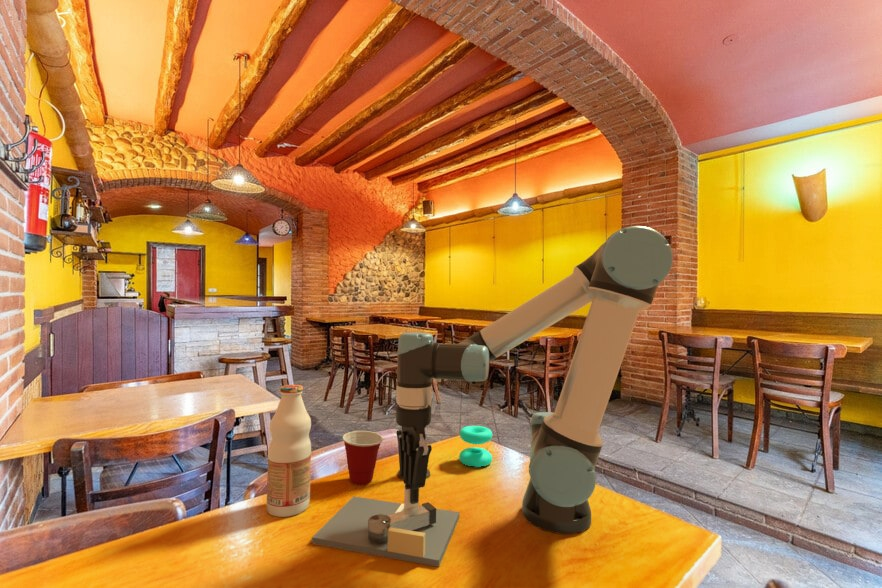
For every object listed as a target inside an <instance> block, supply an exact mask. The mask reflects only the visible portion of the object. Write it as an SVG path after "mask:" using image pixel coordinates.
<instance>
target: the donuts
mask: <svg viewBox="0 0 882 588" xmlns="http://www.w3.org/2000/svg"><path fill="white" fill-rule="evenodd" d="M459 438H460V439H461V440H462V441H463V442H465V443H467V444H472V445H484V444H486V443H488V442H490V441H491V440H492V439H493V432H492V430H491V429H490V428H489V427H486V426H482V425H467V426H464V427H462V428H461V429H460V430H459ZM458 459H459V461H460V462H461V464H463V465H464V464H465V465H464V466H466V465H468V466H467V467H470V466H475V467H474V468H482V467H481V466H485V467H487V466H489V465H490V464H491V463H492V461H493V455H492V454H491V452H489V451H488V450H487V449H485V448H482V447H477V446H476V447H475V446H472V447H467V448H465V449H464V448H463V450H461V451H460V453H459V456H458ZM486 465H487V466H486Z"/></svg>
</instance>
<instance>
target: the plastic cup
mask: <svg viewBox="0 0 882 588" xmlns="http://www.w3.org/2000/svg"><path fill="white" fill-rule="evenodd" d="M342 440H343V442H344V443H343V444H344V448H345V454H346V461H347V462H346V463H347V464H346V465H347V470H348V475H349V481H350V483H351V485H352V484H353V485H355V486H365V485H366V486H367V485H368V484H370V483H372V482H373V478H374V473H375V468H376V464H377V458H378V454H379V449H380V446H381V443H383V440H384V437H383V435H381V434H379V433H378V432H374V431H369V430H354V431H348V432H346V433H344V434H343V435H342Z"/></svg>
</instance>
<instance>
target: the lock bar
mask: <svg viewBox="0 0 882 588" xmlns="http://www.w3.org/2000/svg"><path fill="white" fill-rule="evenodd" d="M436 509H437V508H436V507H435V506H434V505H432V504H431V503H429V502H428V501H426V502H424V503H422V504H421V505H419V506H418V507H414V508H411V509H407V510H404V511H401V512H397V513H394V514H391V515H383V514H378V515H374V516H372V517H370V518H369V519H368V540H369V541H371V542H373V543H383V542H386V541H387V540H388V530H389V528H390V527H392V528H398V529H404V530H410V531H412V530H415V529H418V528H421V527H424V526H427V525H431V524H434V523H436Z"/></svg>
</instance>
